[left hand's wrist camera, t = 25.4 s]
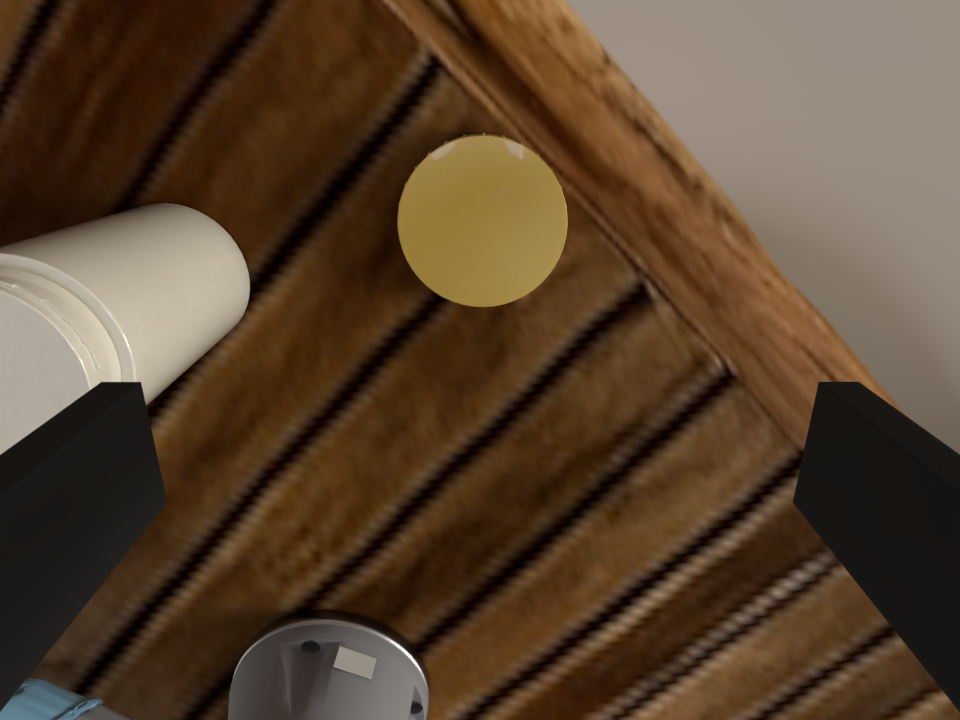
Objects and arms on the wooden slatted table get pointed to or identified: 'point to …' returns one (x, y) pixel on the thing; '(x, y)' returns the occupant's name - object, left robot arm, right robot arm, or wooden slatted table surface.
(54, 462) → the left robot arm
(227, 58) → the wooden slatted table surface
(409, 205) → the lid
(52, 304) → the jar
